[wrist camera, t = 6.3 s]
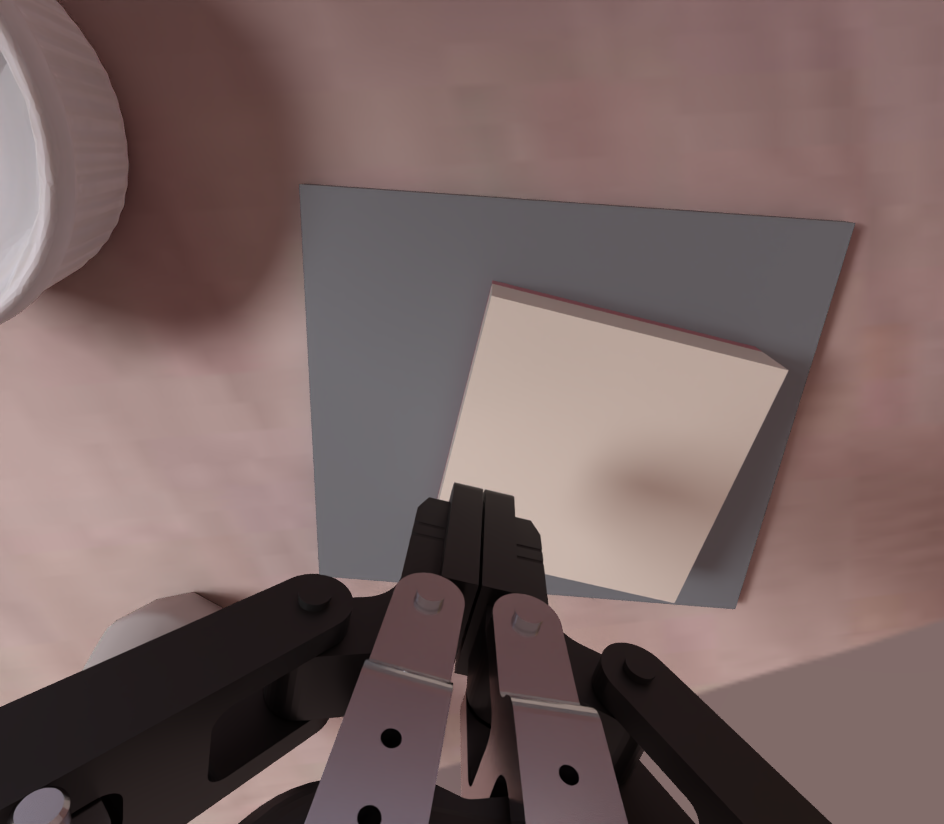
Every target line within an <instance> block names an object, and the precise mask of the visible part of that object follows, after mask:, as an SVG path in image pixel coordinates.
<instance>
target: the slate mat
mask: <svg viewBox="0 0 944 824" xmlns="http://www.w3.org/2000/svg"><path fill="white" fill-rule="evenodd" d="M299 192H300V211H301V230H302V250H303V269H304V288H305V308H306V327H307V346H308V366H309V385H310V404H311V424H312V443H313V462H314V482H315V501H316V520H317V540H318V559H319V574H321V575H326V576H330V577H336V578H349V579H361V580H374V581H387V582H399V580H400V578H401V575H402V571H403V567H404V562H405V558H406V554H407V550H408V546H409V541H410V537H411V533H412V529H413V525H414V521H415V516H416V512H417V508H418V506H420V505H421V504H422V503H423V502H424V501H425V500H426V499H428V498H429V497H431V498H435V499H437V496H438V492H439V488H440V484H441V480H442V476H443V472H444V468H445V464H446V460H447V457H448V453H449V449H450V445H451V441H452V437H453V433H454V429H455V425H456V421H457V417H458V413H459V409H460V405H461V402H462V398H463V394H464V390H465V386H466V382H467V378H468V374H469V370H470V366H471V362H472V358H473V354H474V350H475V346H476V343H477V339H478V335H479V331H480V327H481V323H482V319H483V315H484V311H485V307H486V303H487V299H488V295H489V291H490V287H491V284H492V280H494V281H498V282H502V283H505V284H509V285H513V286H517V287H521V288H525V289H529V290H533V291H537V292H541V293H545V294H549V295H553V296H557V297H561V298H565V299H569V300H573V301H577V302H581V303H585V304H588V305H592V306H596V307H600V308H604V309H608V310H612V311H616V312H620V313H624V314H628V315H632V316H636V317H640V318H644V319H648V320H652V321H656V322H660V323H664V324H668V325H671V326H675V327H679V328H683V329H687V330H691V331H695V332H699V333H703V334H707V335H711V336H715V337H719V338H723V339H727V340H731V341H735V342H739V343H743V344H747V345H751V346H755V347H756V348H758V349H759V350H761V351H762V352H763V353H765V354H766V355H768V356H769V357H770V358H772V359H773V360H775V361H776V362H777V363H779V364H780V365H782V366H783V367H784V368H786V369H787V370H789V371H788V373H787V375H786V377H785V379H784V381H783V383H782V385H781V387H780V389H779V391H778V393H777V395H776V397H775V399H774V401H773V403H772V405H771V407H770V409H769V411H768V413H767V415H766V417H765V420H764V422H763V424H762V426H761V428H760V430H759V432H758V434H757V436H756V438H755V440H754V442H753V444H752V446H751V448H750V450H749V452H748V454H747V456H746V458H745V460H744V462H743V464H742V466H741V468H740V470H739V473H738V475H737V477H736V479H735V481H734V483H733V485H732V487H731V489H730V491H729V493H728V495H727V497H726V499H725V501H724V503H723V505H722V507H721V509H720V511H719V513H718V515H717V517H716V519H715V521H714V524H713V526H712V528H711V530H710V532H709V534H708V536H707V538H706V540H705V542H704V544H703V546H702V548H701V550H700V552H699V554H698V556H697V558H696V560H695V562H694V564H693V566H692V568H691V570H690V572H689V574H688V577H687V579H686V581H685V583H684V585H683V587H682V589H681V591H680V593H679V595H678V597H677V599H676V601H675V603H671V602H667V601H662V600H658V599H653V598H649V597H644V596H640V595H636V594H631V593H627V592H622V591H618V590H613V589H609V588H605V587H600V586H596V585H591V584H587V583H582V582H578V581H574V580H569V579H565V578H560V577H556V576H551V575H547V574H545V579H546V588H547V594H550V595H562V596H575V597H588V598H600V599H613V600H625V601H638V602H650V603H663V604H676V605H688V606H701V607H713V608H726V609H735V608H736V605H737V602H738V599H739V595H740V592H741V589H742V586H743V582H744V579H745V576H746V573H747V570H748V566H749V563H750V560H751V557H752V554H753V550H754V547H755V544H756V541H757V537H758V534H759V531H760V528H761V525H762V521H763V518H764V515H765V512H766V509H767V505H768V502H769V499H770V496H771V492H772V489H773V486H774V483H775V480H776V476H777V473H778V470H779V467H780V464H781V460H782V457H783V454H784V451H785V447H786V444H787V441H788V438H789V435H790V431H791V428H792V425H793V422H794V419H795V415H796V412H797V409H798V406H799V402H800V399H801V396H802V393H803V390H804V386H805V383H806V380H807V377H808V374H809V370H810V367H811V364H812V361H813V358H814V354H815V351H816V348H817V345H818V341H819V338H820V335H821V332H822V329H823V325H824V322H825V319H826V316H827V313H828V309H829V306H830V303H831V300H832V296H833V293H834V290H835V287H836V284H837V280H838V277H839V274H840V271H841V268H842V264H843V261H844V258H845V255H846V251H847V248H848V245H849V242H850V239H851V235H852V232H853V229H854V226H855V223H852V222H846V221H833V220H819V219H805V218H790V217H776V216H762V215H747V214H733V213H718V212H704V211H690V210H675V209H661V208H646V207H632V206H618V205H603V204H589V203H575V202H560V201H546V200H531V199H517V198H503V197H488V196H474V195H459V194H445V193H431V192H416V191H402V190H388V189H373V188H359V187H344V186H330V185H316V184H299Z"/></svg>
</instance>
